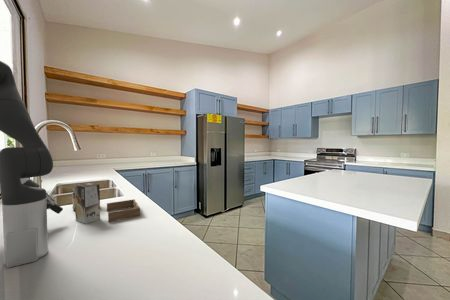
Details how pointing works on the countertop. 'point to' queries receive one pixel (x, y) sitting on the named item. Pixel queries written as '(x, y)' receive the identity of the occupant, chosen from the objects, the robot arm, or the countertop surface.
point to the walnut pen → (123, 213)
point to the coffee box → (87, 202)
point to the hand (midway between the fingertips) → (60, 211)
